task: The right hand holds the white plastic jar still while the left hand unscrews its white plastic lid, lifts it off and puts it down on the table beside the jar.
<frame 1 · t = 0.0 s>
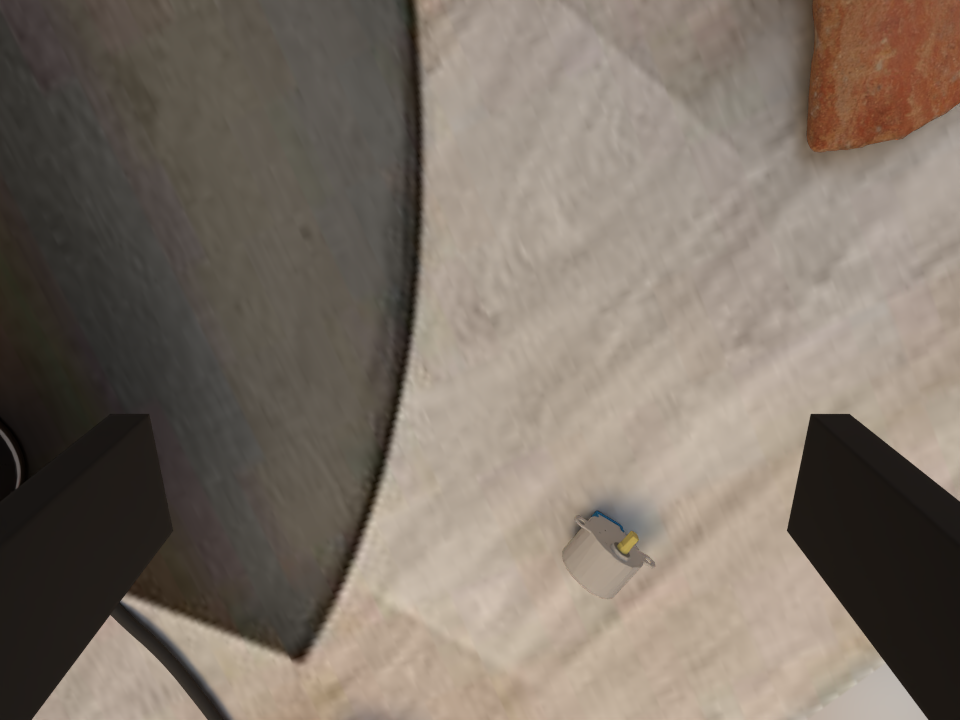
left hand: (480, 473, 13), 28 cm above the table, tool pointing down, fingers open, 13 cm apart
electric motor: (601, 523, 46), on the table
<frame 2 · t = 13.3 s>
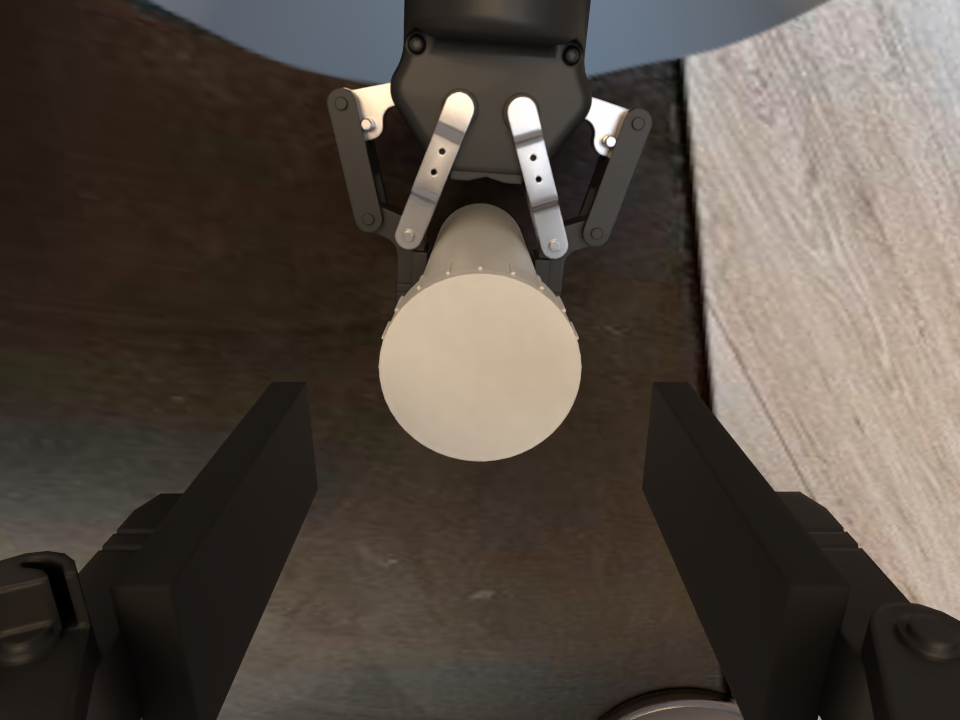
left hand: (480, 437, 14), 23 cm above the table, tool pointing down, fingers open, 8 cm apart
right hand: (475, 325, 31), fingers closed on jar, 5 cm apart
lid: (480, 368, 18), point 18 cm above the table, screwed on, not yet turned
jar: (480, 247, 36), on the table, touching right hand
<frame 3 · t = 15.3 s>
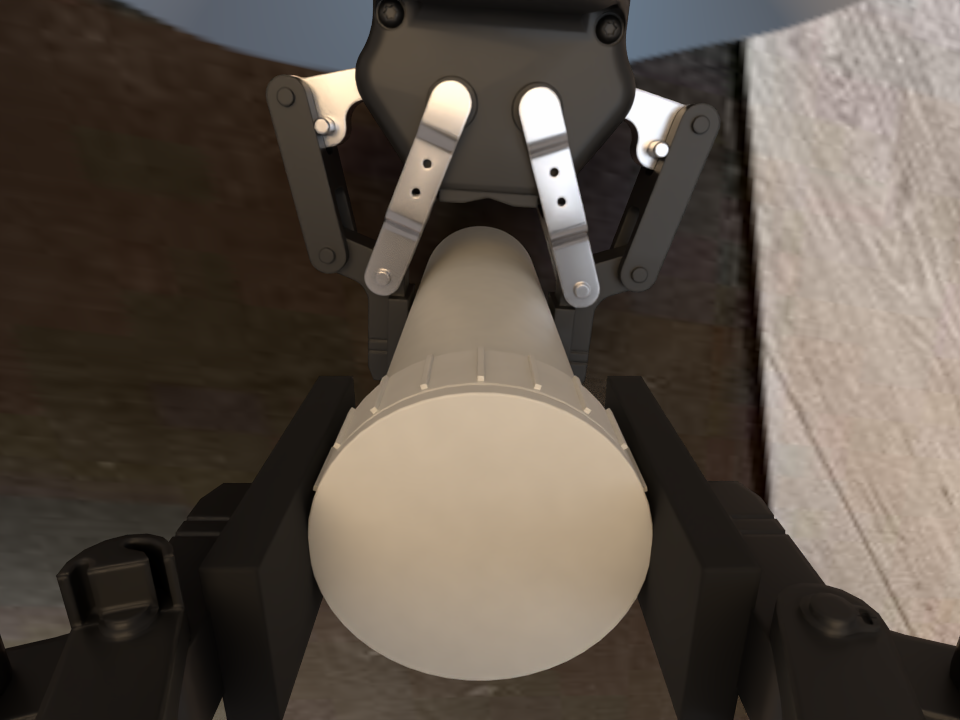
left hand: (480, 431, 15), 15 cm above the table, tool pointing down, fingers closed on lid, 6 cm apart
right hand: (474, 391, 23), fingers closed on jar, 5 cm apart
lid: (480, 538, 11), point 18 cm above the table, screwed on, not yet turned, touching left hand
jar: (480, 281, 28), on the table, touching right hand
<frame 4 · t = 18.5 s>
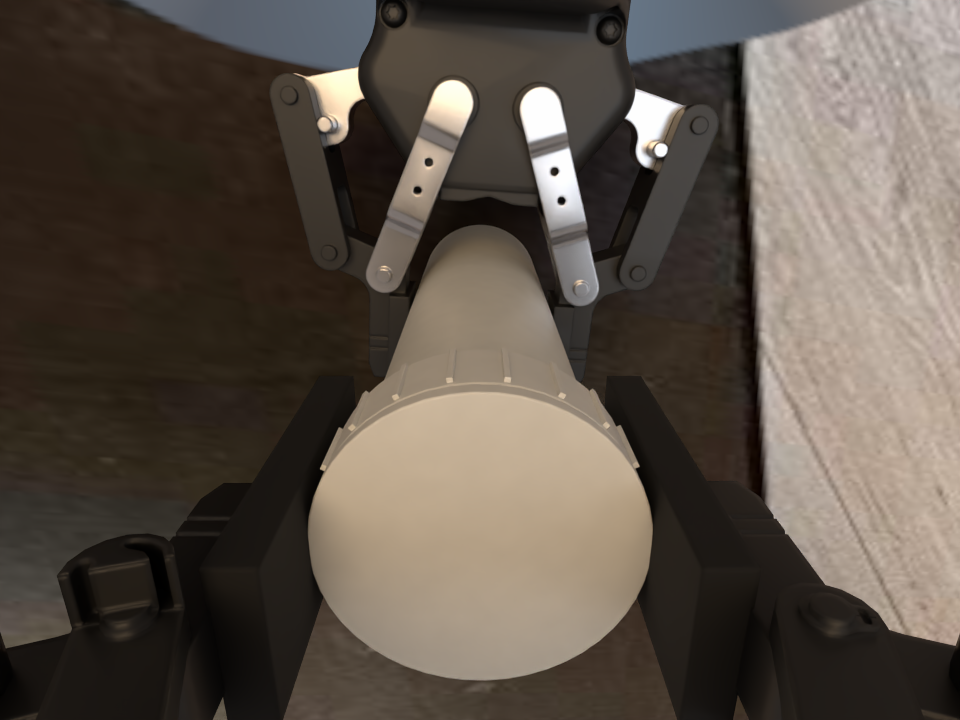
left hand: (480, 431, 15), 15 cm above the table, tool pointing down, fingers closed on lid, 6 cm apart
right hand: (474, 388, 23), fingers closed on jar, 5 cm apart
lid: (480, 537, 11), point 19 cm above the table, turned 82° so far, risen 0.2 cm, still on its thread, touching left hand
jar: (480, 279, 28), on the table, touching right hand
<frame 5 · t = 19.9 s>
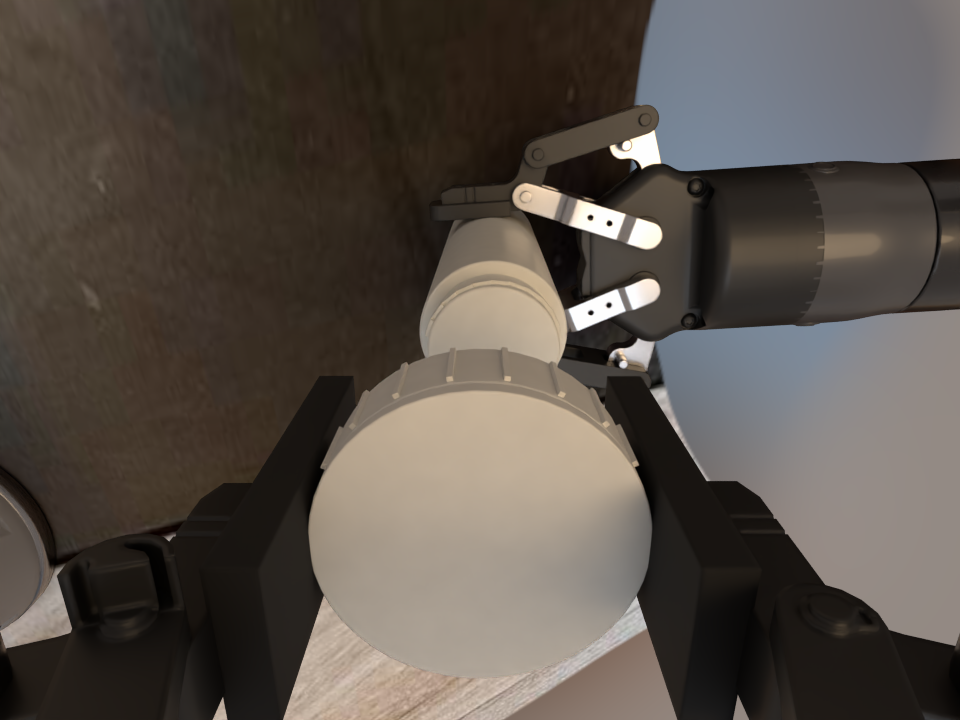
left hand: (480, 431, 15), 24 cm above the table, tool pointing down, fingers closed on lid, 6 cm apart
right hand: (438, 268, 31), fingers closed on jar, 5 cm apart
lid: (480, 536, 11), point 28 cm above the table, off its thread, touching left hand
jar: (491, 242, 37), on the table, touching right hand
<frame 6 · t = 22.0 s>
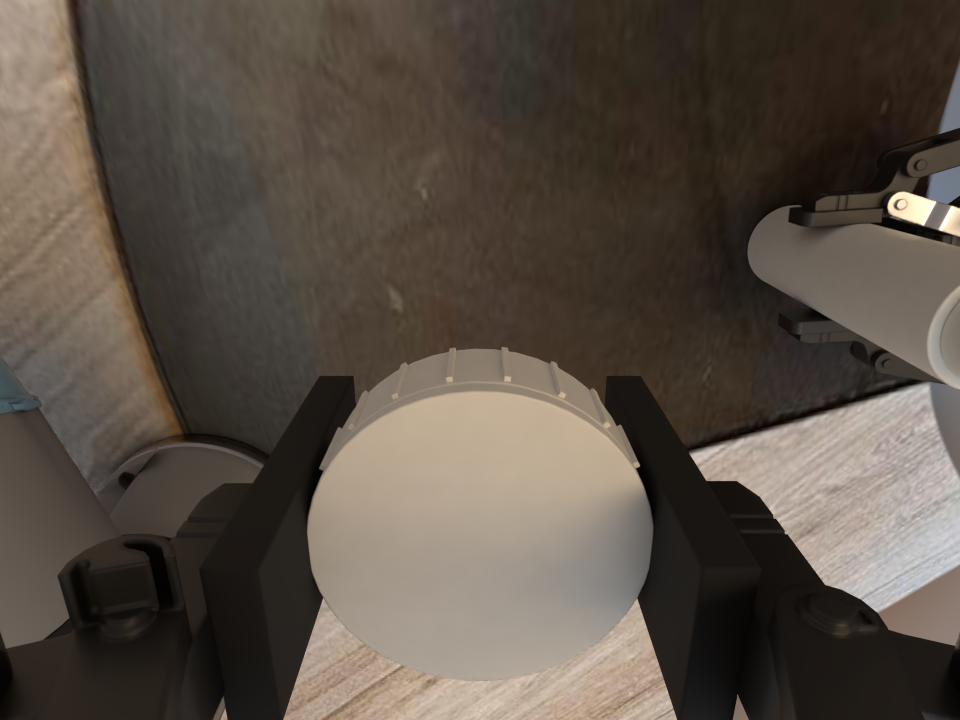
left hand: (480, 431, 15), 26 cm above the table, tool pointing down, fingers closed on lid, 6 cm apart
lid: (480, 537, 11), point 30 cm above the table, off its thread, touching left hand
jar: (787, 246, 39), on the table, touching right hand
when the left hand's fingers open (0 cm above the table, at t = 25.7 s): lid stays where it is, point 2 cm above the table.
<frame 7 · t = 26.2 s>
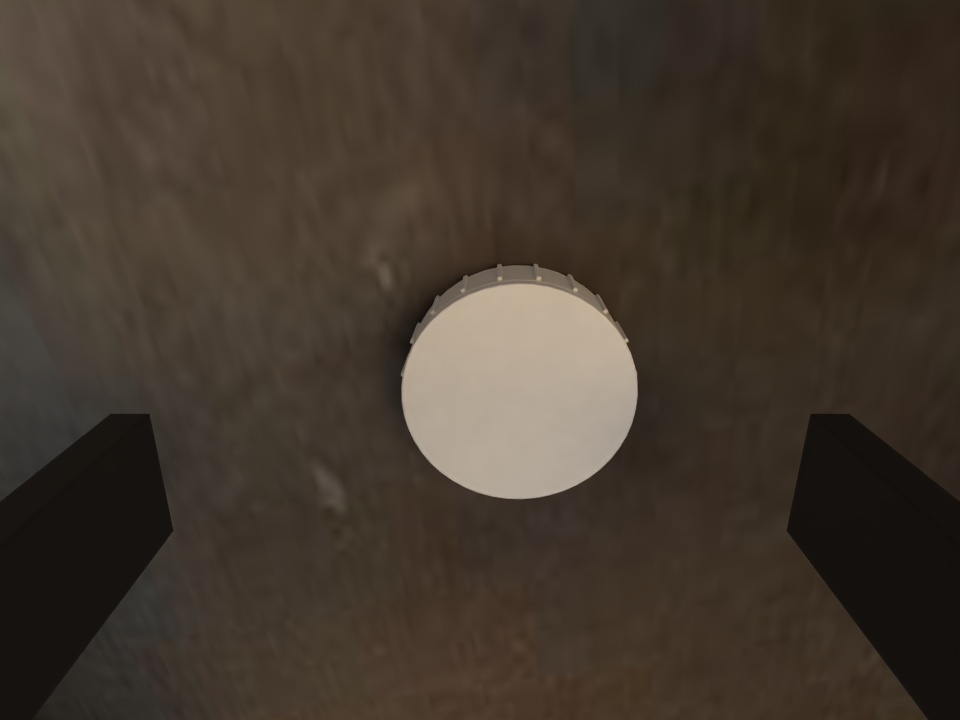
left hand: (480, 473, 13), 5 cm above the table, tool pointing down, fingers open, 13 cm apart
lid: (518, 393, 16), point 2 cm above the table, off its thread
when the right hand's fingers open (6 cm above the table, at t = 26.4 s): jar stays where it is, on the table.
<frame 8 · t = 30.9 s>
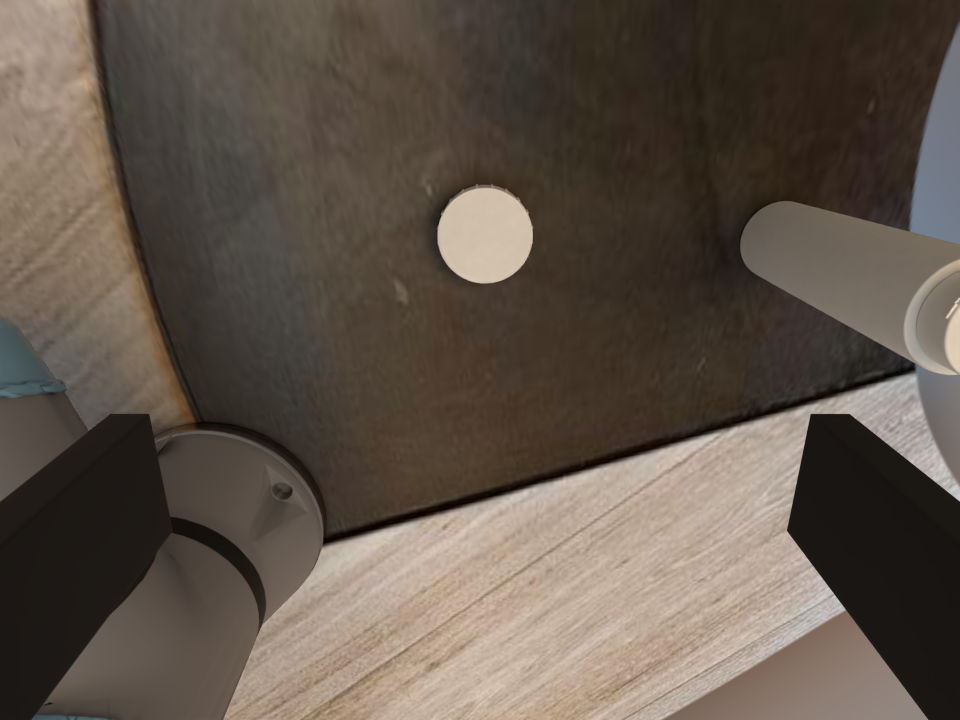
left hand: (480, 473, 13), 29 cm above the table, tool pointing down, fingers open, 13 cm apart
lid: (485, 235, 38), point 2 cm above the table, off its thread
jar: (778, 240, 40), on the table
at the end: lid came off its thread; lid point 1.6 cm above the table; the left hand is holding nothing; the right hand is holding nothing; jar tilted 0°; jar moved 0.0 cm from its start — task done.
